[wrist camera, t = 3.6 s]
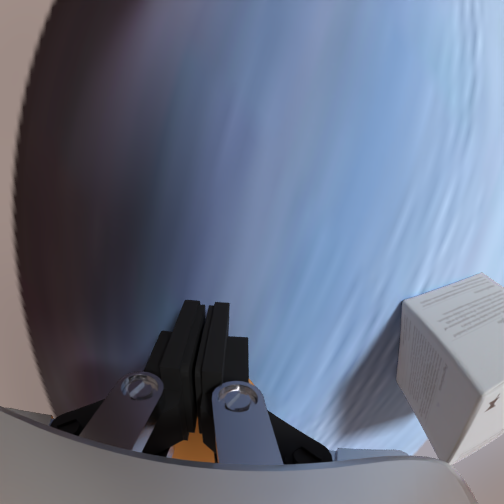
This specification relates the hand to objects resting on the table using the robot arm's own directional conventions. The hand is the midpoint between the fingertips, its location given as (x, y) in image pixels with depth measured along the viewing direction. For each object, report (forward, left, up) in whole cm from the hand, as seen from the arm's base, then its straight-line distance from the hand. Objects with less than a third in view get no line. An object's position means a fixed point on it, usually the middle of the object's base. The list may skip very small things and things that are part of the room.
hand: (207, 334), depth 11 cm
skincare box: (+1, +13, -3) cm, 13 cm away
